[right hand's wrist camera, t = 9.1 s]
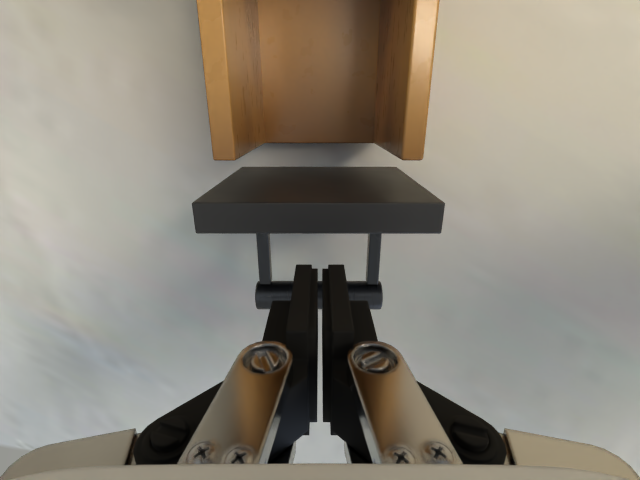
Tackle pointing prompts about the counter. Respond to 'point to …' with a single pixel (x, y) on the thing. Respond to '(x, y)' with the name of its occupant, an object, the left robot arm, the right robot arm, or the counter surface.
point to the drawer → (318, 121)
